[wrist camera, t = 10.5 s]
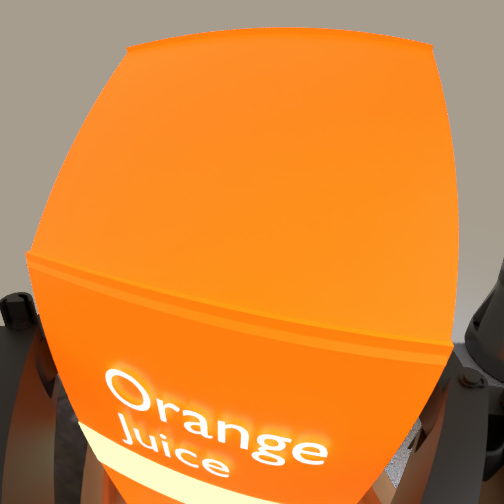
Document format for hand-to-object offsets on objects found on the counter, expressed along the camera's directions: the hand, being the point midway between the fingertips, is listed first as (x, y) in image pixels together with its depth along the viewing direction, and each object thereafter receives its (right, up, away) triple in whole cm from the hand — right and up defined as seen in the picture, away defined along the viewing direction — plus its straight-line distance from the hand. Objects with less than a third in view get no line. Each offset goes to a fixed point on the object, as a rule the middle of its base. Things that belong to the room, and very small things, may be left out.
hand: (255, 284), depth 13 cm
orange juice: (-1, -12, 0) cm, 12 cm away
